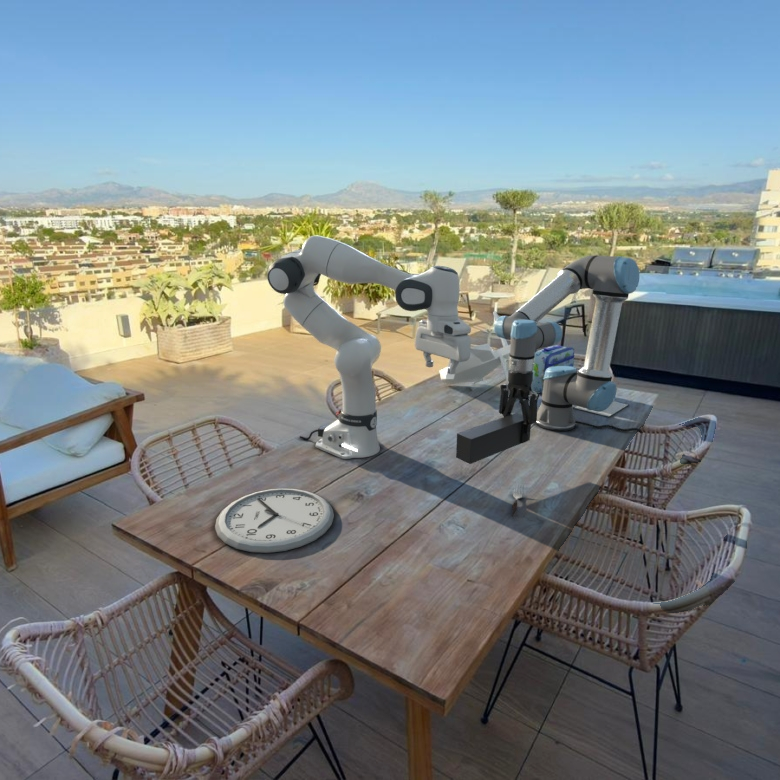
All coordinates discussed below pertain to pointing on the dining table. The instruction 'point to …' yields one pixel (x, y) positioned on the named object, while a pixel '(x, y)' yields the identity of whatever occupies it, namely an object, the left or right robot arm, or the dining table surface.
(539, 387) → the lunch box
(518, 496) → the fork
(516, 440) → the bar
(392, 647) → the dining table surface
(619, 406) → the invitation card
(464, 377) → the white plastic object
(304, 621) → the dining table surface
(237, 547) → the wall clock
